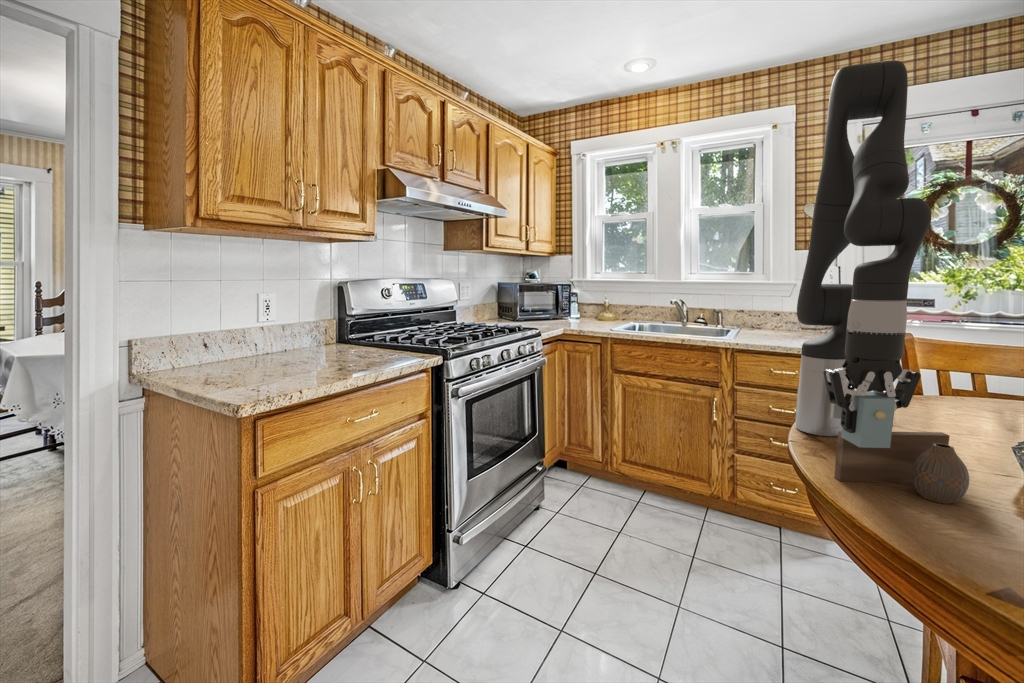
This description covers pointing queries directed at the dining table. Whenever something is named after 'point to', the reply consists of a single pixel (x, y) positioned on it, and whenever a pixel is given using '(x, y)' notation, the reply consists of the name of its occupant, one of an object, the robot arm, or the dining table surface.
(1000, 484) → the dining table surface
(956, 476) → the vase
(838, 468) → the wall board
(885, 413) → the cabinet
